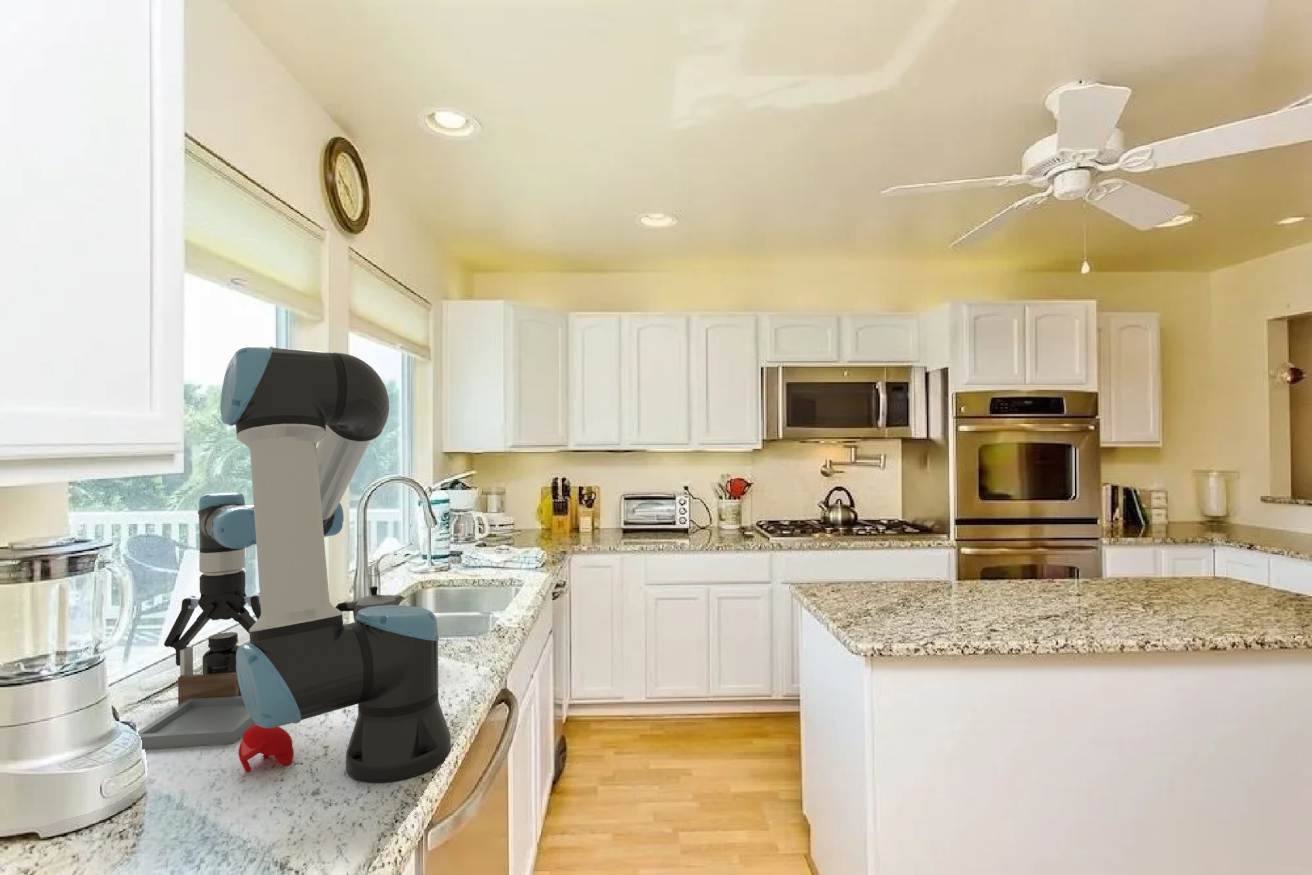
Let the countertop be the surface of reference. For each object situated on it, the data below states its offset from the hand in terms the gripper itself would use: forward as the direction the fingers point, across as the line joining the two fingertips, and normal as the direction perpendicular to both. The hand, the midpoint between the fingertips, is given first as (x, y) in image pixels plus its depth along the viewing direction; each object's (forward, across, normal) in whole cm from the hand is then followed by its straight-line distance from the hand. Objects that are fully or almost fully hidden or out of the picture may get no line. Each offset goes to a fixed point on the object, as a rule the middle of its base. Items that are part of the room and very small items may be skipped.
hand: (223, 679), depth 125 cm
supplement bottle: (+4, 0, 0) cm, 4 cm away
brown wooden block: (+3, 0, 0) cm, 3 cm away
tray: (+3, -5, +14) cm, 15 cm away
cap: (+4, -22, +30) cm, 37 cm away
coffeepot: (+4, -24, -11) cm, 27 cm away
